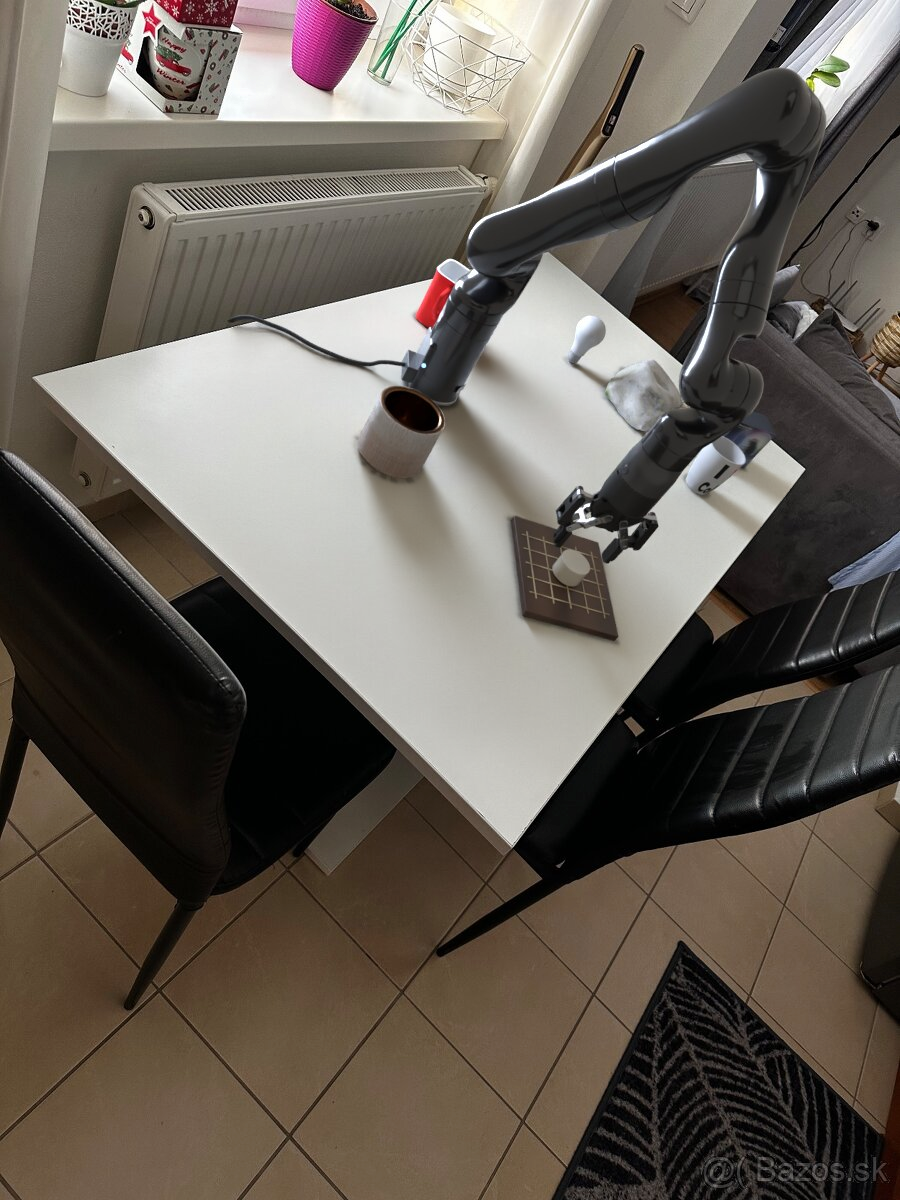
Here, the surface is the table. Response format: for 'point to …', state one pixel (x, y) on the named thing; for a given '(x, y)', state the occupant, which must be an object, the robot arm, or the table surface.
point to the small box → (751, 435)
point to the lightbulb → (586, 337)
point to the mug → (439, 291)
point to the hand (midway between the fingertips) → (580, 551)
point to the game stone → (571, 567)
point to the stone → (643, 393)
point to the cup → (714, 465)
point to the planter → (401, 431)
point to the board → (552, 598)
